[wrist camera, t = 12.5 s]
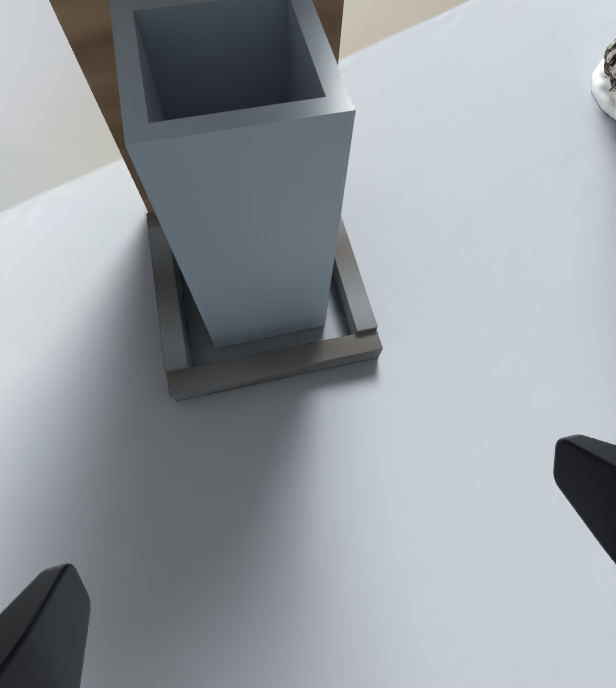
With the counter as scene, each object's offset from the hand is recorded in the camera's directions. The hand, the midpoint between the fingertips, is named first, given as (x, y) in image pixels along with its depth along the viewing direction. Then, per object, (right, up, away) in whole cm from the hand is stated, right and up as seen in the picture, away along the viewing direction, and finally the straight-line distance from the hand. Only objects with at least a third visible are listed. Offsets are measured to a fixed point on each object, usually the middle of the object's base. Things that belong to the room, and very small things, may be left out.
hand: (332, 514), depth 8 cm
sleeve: (-3, +6, +15) cm, 17 cm away
